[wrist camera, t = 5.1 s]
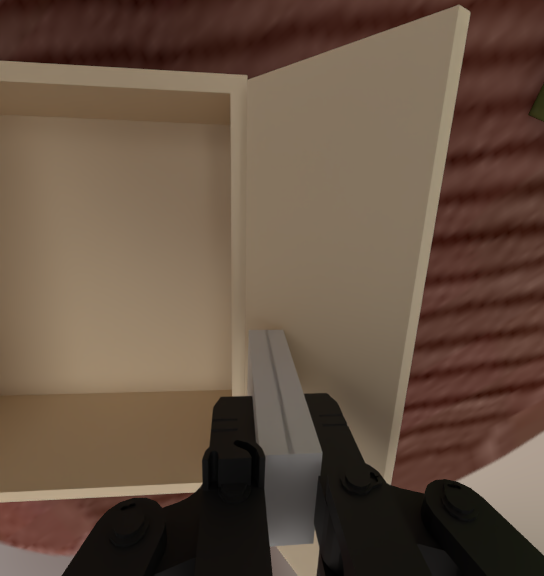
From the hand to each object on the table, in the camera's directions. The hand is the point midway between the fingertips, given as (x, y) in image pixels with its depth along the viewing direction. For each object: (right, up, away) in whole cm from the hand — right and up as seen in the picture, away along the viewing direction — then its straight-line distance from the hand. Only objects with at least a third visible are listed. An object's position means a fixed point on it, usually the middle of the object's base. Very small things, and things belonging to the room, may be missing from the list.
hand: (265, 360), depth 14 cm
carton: (-12, +4, +12) cm, 18 cm away
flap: (-1, +1, +3) cm, 4 cm away
